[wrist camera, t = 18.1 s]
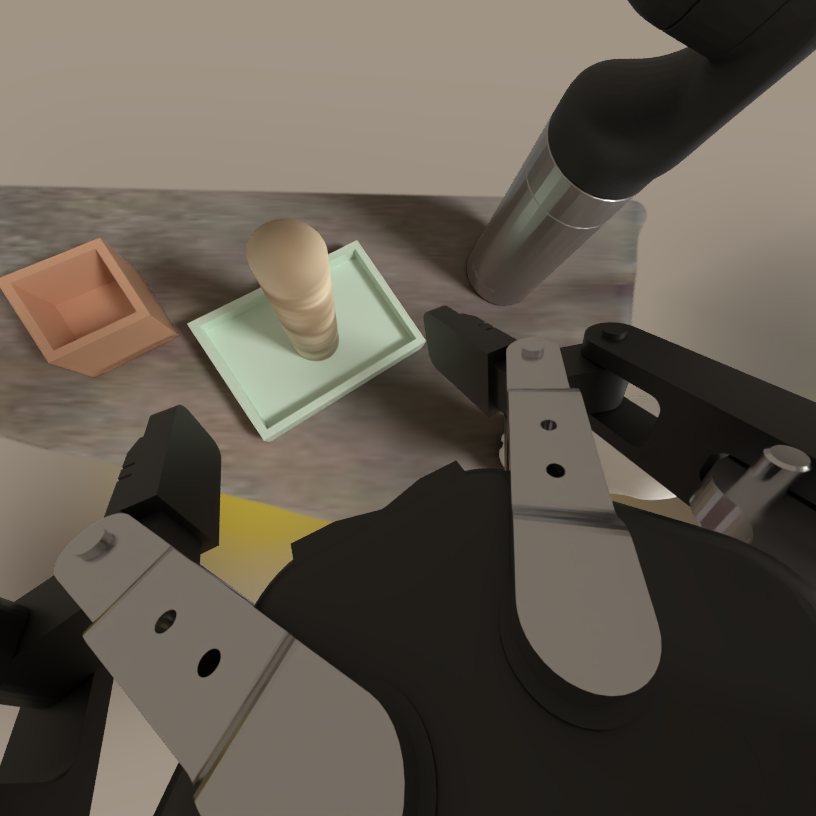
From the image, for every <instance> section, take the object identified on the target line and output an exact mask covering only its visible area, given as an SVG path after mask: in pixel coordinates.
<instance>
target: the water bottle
mask: <svg viewBox="0 0 816 816" xmlns="http://www.w3.org/2000/svg"><path fill="white" fill-rule="evenodd" d="M627 399H629V400H630V401H632V402H634V403H635V404H637V405H638V406H640V407H642V408H643V409H645V410H647V411H648V412H650V413H651V414H653V415H655V416H656V417H658V416H659V413H660V406H659V404H658V402H657V400H656V399H655V398H654V397H641V396H640V397H630V398H627ZM592 433H593V437H594V440H595V444H596V447H597V451H598V454H599V458H600V461H601V465H602V468H603V472H604V475H605V479H606V482H607V486H608V489H609V493H615V494H621V495H628V496H631V497H633V498H638V499H643V500H644V499H645V500H659V499H668V498H673V497H677V496H675V495H674V494H673V493H672V492H670V491H669V490H668V489H666V488H665V487H664V486H663V485H661V484H660V483H659V482H657V481H656V480H655V479H654V478H652V477H651V476H650V475H648V474H647V473H646V472H645V471H643V470H642V469H641V468H639V467H638V466H637V465H636V464H634V463H633V462H632V461H630V460H629V459H628V458H627V457H625V456H624V455H623V454H621V453H620V452H619V451H618V450H616V449H615V448H614V447H612V446H611V445H610V444H609V443H607V442H606V441H605V440H603V439H602V438H601V437H600V436H598V435H597V434H596V433H594V432H593V431H592ZM501 441H502V442H503V446H502V448H501V449H500V450H499V458H500V461H501V463H502V465H503V467H504V434H503V435H502V438H501Z"/></svg>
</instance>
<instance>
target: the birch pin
mask: <svg viewBox="0 0 816 816" xmlns="http://www.w3.org/2000/svg"><path fill="white" fill-rule="evenodd" d="M246 256H247V261H248V264H249V266H250V268H251V270H252V272H253V274H254V276H255V277H256V279H257V281H258V283H259V285H260V287H261V288H262V290H263V292H264V294H265V296H266V297H267V299H268V301H269V303H270V305H271V307H272V308H273V310H274V312H275V314H276V316H277V318H278V319H279V321H280V323H281V325H282V327H283V329H284V330H285V332H286V334H287V336H288V338H289V339H290V341H291V343H292V345H293V347H294V349H295V350H296V352H297V353H298V354H299V355H300V356H301V357H303V358H304V359H307V360H310V361H323V360H325V359H328V358H329V357H331V356H332V355H333V354H334V353H335V351H336V350H337V348H338V344H339V335H338V328H337V320H336V313H335V305H334V297H333V290H332V282H331V274H330V267H329V259H328V252H327V247H326V245H325V242H324V240H323V239H322V237H321V236H320V235H319V233H318V232H317V231H316V230H314V229H313V228H312V227H310V226H309V225H307V224H305V223H303V222H300V221H297V220H292V219H277V220H273V221H270V222H267V223H265V224H263V225H262V226H260V227H259V228H258V229H256V230H255V231H254V233H253V234H252V235H251V237H250V239H249V241H248V244H247V249H246Z"/></svg>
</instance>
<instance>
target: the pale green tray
mask: <svg viewBox="0 0 816 816" xmlns="http://www.w3.org/2000/svg"><path fill="white" fill-rule="evenodd" d="M328 259H329V267H330V274H331V282H332V290H333V297H334V305H335V313H336V320H337V328H338V335H339V344H338V348H337V350H336V351H335V353H334V354H333V355H332V356H331V357H329V358H328V359H325V360H323V361H310V360H307V359H304V358H303V357H301V356H300V355H299V354H298V353H297V352H296V350H295V349H294V347H293V345H292V343H291V341H290V339H289V338H288V336H287V334H286V332H285V330H284V329H283V327H282V325H281V323H280V321H279V319H278V318H277V316H276V314H275V312H274V310H273V308H272V307H271V305H270V303H269V301H268V299H267V297H266V296H265V294H264V292H263V290H262V288H259V289H257V290H255V291H253V292H251V293H249V294H247V295H245V296H242V297H240V298H238V299H236V300H234V301H232V302H230V303H228V304H226V305H224V306H222V307H220V308H218V309H216V310H214V311H212V312H210V313H208V314H206V315H204V316H202V317H200V318H198V319H196V320H194V321H192V322H189V323H187V325H188V326H189V328H190V329H191V331H192V332H193V334H194V335H195V337H196V338H197V340H198V341H199V343H200V344H201V346H202V347H203V349H204V350H205V352H206V354H207V355H208V357H209V358H210V360H211V361H212V363H213V364H214V366H215V367H216V369H217V370H218V372H219V373H220V375H221V376H222V378H223V379H224V381H225V382H226V384H227V385H228V387H229V388H230V390H231V392H232V393H233V395H234V396H235V398H236V399H237V401H238V402H239V404H240V405H241V407H242V408H243V410H244V411H245V413H246V414H247V416H248V417H249V419H250V420H251V422H252V423H253V425H254V426H255V428H256V429H257V431H258V433H259V434H260V436H261V437H262V439H263V440H264V441H268V442H271V441H272V440H274V439H276V438H277V437H279V436H281V435H282V434H284V433H285V432H287V431H289V430H290V429H292V428H293V427H295V426H297V425H298V424H300V423H302V422H303V421H305V420H306V419H308V418H310V417H311V416H313V415H314V414H316V413H318V412H319V411H321V410H323V409H324V408H326V407H327V406H329V405H331V404H332V403H334V402H335V401H337V400H339V399H340V398H342V397H344V396H345V395H347V394H348V393H350V392H352V391H353V390H355V389H356V388H358V387H360V386H361V385H363V384H365V383H366V382H368V381H369V380H371V379H373V378H374V377H376V376H377V375H379V374H381V373H382V372H384V371H386V370H387V369H389V368H390V367H392V366H394V365H395V364H397V363H398V362H400V361H402V360H403V359H405V358H407V357H408V356H410V355H411V354H413V353H415V352H416V351H418V350H419V349H421V348H422V346H423V345H424V343H425V342H426V340H425V339H424V337H423V336H422V334H421V333H420V332H419V330H418V329H417V327H416V326H415V324H414V323H413V321H412V320H411V318H410V317H409V315H408V314H407V312H406V311H405V310H404V308H403V307H402V305H401V304H400V302H399V301H398V299H397V298H396V296H395V295H394V293H393V292H392V291H391V289H390V288H389V286H388V285H387V283H386V282H385V280H384V279H383V277H382V276H381V274H380V273H379V271H378V270H377V269H376V267H375V266H374V264H373V263H372V261H371V260H370V258H369V257H368V255H367V254H366V252H365V251H364V249H363V248H362V247H361V245H360V244H359V242H358V241H355V242H353V243H351V244H348V245H346V246H344V247H342V248H340V249H338V250H336V251H334V252H332V253H330V254H328Z"/></svg>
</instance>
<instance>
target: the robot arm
mask: <svg viewBox="0 0 816 816" xmlns="http://www.w3.org/2000/svg"><path fill="white" fill-rule="evenodd" d="M628 1H629V3H630V4H631V6H632V7H633V8H634V9H635V11H636V12H637V13H638V14H639V15H640V16H642V17H643V18H644V19H645V20H647V21H648V22H649V23H651V24H652V25H654V26H655V27H657V28H658V29H660V30H662V31H663V32H665V33H666V34H668V35H670V36H671V37H673V38H675V39H676V40H678V41H680V42H681V43H683V44H685V45H686V46H688V47H687V48H685V49H682V50H680V51H677V52H674V53H671V54H668V55H664V56H659V57H654V58H645V59H612V60H606V61H602V62H598V63H596V64H594V65H592V66H590V67H588V68H587V69H585V70H584V71H583V72H581V73H580V74H579V75H578V76H577V77H576V79H575V80H574V81H573V82H572V83H571V84H570V86H569V88H568V89H567V90H566V92H565V94H564V95H563V97H562V99H561V100H560V102H559V104H558V105H557V107H556V109H555V111H554V112H553V114H552V116H551V117H550V119H549V121H548V123H547V124H546V126H545V128H544V129H543V131H542V133H541V134H540V136H539V138H538V140H537V141H536V143H535V145H534V146H533V148H532V150H531V152H530V153H529V155H528V157H527V159H526V160H525V162H524V164H523V165H522V167H521V169H520V171H519V172H518V174H517V176H516V177H515V179H514V181H513V183H512V184H511V186H510V188H509V189H508V191H507V193H506V194H505V196H504V198H503V199H502V201H501V203H500V204H499V206H498V208H497V210H496V211H495V213H494V215H493V216H492V218H491V220H490V221H489V223H488V225H487V226H486V228H485V230H484V231H483V233H482V235H481V237H480V238H479V240H478V242H477V243H476V245H475V247H474V248H473V250H472V252H471V254H470V255H469V258H468V261H467V275H468V278H469V281H470V283H471V285H472V287H473V289H474V290H475V291H476V292H477V293H478V294H479V295H480V296H481V297H482V298H483V299H485V300H487V301H489V302H490V303H493V304H497V305H504V306H505V305H512V304H515V303H518V302H519V301H521V300H522V299H523V298H525V297H526V296H527V295H528V294H529V293H530V292H531V291H532V290H533V289H534V288H535V287H537V286H538V285H539V284H540V283H541V282H542V281H543V280H544V279H545V278H546V277H548V276H549V275H550V274H551V273H552V272H553V271H554V270H555V269H556V268H557V267H558V266H560V265H561V264H562V263H563V262H564V261H565V260H566V259H567V258H568V257H569V256H570V255H572V254H573V253H574V252H575V251H576V250H577V249H578V248H579V247H580V246H581V245H582V244H583V243H585V242H586V241H587V240H588V239H589V238H590V237H591V236H592V235H593V234H594V233H595V232H597V231H598V230H599V229H600V228H601V227H602V226H603V225H604V224H605V223H606V222H607V221H609V220H610V219H611V218H612V217H613V216H614V215H615V214H616V213H617V212H618V211H619V210H620V209H621V208H622V207H623V206H625V205H626V204H627V203H628V202H629V201H630V200H631V199H632V198H633V197H634V196H635V195H636V194H637V193H639V192H640V191H641V190H642V189H643V188H644V187H645V186H646V185H647V184H649V183H650V182H651V181H652V180H653V179H655V178H657V177H659V176H660V175H662V174H664V173H666V172H667V171H669V170H671V169H672V168H673V167H675V166H676V165H678V164H679V163H680V162H681V161H682V160H684V159H685V158H686V157H687V156H688V155H690V154H691V153H692V152H693V151H694V150H696V149H697V148H698V147H699V146H700V145H701V144H702V143H704V142H705V141H706V140H707V139H708V138H709V137H711V136H712V135H713V134H714V133H716V132H717V131H718V130H719V129H720V128H721V127H723V126H724V125H725V124H726V123H727V122H729V121H730V120H731V119H732V118H733V117H735V116H736V115H737V114H738V113H739V112H741V111H742V110H743V109H744V108H745V107H746V106H748V105H749V104H750V103H752V102H753V101H754V100H755V99H756V98H758V97H759V96H760V95H761V94H762V93H763V92H765V91H766V90H767V89H769V88H770V87H771V86H772V85H773V84H775V83H776V82H777V81H778V80H780V79H781V78H782V77H783V76H784V75H786V74H787V73H788V72H789V71H791V70H792V69H793V68H794V67H795V66H796V65H798V64H799V63H800V62H801V61H803V60H804V59H805V58H806V57H808V56H809V55H810V54H811V53H812V52H813V51H815V50H816V0H628ZM424 325H425V332H426V338H427V345H428V351H429V356H430V359H431V361H432V363H433V365H434V366H435V367H436V368H437V369H438V370H439V371H440V372H441V373H442V374H443V375H444V376H445V377H446V378H447V379H448V380H449V381H450V382H452V383H453V384H454V385H455V386H456V387H457V388H458V389H459V390H460V391H461V392H462V393H463V394H464V395H465V396H467V397H468V398H469V399H470V400H471V401H472V402H473V403H474V404H475V405H476V406H477V407H478V408H479V409H480V410H482V411H483V412H484V413H485V414H486V415H487V416H488V417H489V416H491V415H493V414H496V413H498V412H500V411H502V412H503V413H504V470H502V469H491V468H486V469H473V470H467V471H464V470H463V468H462V467H461V466H460V465H459V463H458V462H457V461H454V462H452V463H450V464H448V465H446V466H444V467H442V468H440V469H438V470H436V471H434V472H432V473H430V474H428V475H426V476H424V477H422V478H420V479H419V480H418V481H416V482H415V483H414V484H413V485H412V486H410V487H409V488H408V489H407V490H405V491H404V492H403V493H402V494H401V495H399V496H398V497H397V498H396V499H395V500H393V501H392V502H391V503H390V504H389V505H387V506H386V507H385V508H383V509H381V510H378V511H374V512H370V513H366V514H362V515H358V516H354V517H350V518H346V519H343V520H339V521H335V522H333V523H331V524H329V525H327V526H325V527H323V528H321V529H319V530H317V531H315V532H313V533H311V534H309V535H307V536H305V537H303V538H301V539H299V540H297V541H295V542H293V543H291V548H292V554H293V560H292V561H291V562H289V563H288V564H287V565H286V566H285V567H284V568H283V569H282V570H281V571H280V572H279V573H278V574H277V575H276V576H275V578H274V579H273V580H272V581H271V582H270V583H269V585H268V586H267V587H266V589H265V590H264V592H263V593H262V594H261V596H260V597H259V599H258V601H257V602H256V604H254V603H253V602H251V601H250V600H249V599H247V598H246V597H244V596H243V595H242V594H240V593H239V592H238V591H236V590H235V589H233V588H232V587H231V586H229V585H228V584H227V583H225V582H224V581H222V580H221V579H220V578H218V577H217V576H216V575H214V574H213V573H211V572H210V571H209V570H207V569H206V568H204V567H203V566H201V565H200V554H202V553H204V552H206V551H208V550H210V549H212V548H214V547H216V546H219V519H220V518H219V516H220V482H221V454H220V451H219V448H218V446H217V444H216V443H215V441H214V440H213V439H212V438H211V436H210V435H209V434H208V433H207V432H206V430H205V429H204V428H203V427H202V426H201V425H200V423H199V422H198V421H197V420H196V419H195V418H194V416H193V415H192V414H191V413H190V412H189V411H188V410H187V409H186V408H185V407H184V406H182V405H177V406H175V407H172V408H169V409H167V410H164V411H161V412H159V413H156V414H153V415H151V416H150V418H149V421H148V425H147V428H146V431H145V434H144V437H141V438H139V440H138V441H137V442H136V443H135V445H134V446H133V447H132V448H131V449H130V451H129V452H128V453H127V456H126V458H125V461H124V464H123V469H122V470H121V473H120V475H119V478H118V479H119V481H118V482H117V483H116V486H115V489H114V491H113V494H112V497H111V500H110V502H109V505H108V508H107V511H106V513H105V516H104V518H102V519H100V520H98V521H97V522H95V523H93V524H92V525H90V526H89V527H87V528H86V529H85V530H83V531H82V532H81V533H79V534H78V535H77V536H76V537H75V538H74V539H73V540H72V541H71V542H70V543H69V544H68V545H67V547H66V548H65V549H64V550H63V551H62V553H61V554H60V556H59V558H58V560H57V561H56V564H55V567H54V576H52V577H51V578H50V579H48V580H46V581H45V582H43V583H42V584H40V585H39V586H37V587H36V588H34V589H33V590H31V591H30V592H29V593H27V594H25V595H24V596H23V597H21V598H19V599H18V600H16V601H15V602H12V601H10V600H7V599H4V598H1V597H0V704H3V705H9V706H17V707H20V710H19V713H18V716H17V719H16V721H15V724H14V727H13V730H12V733H11V736H10V739H9V742H8V745H7V748H6V751H5V753H4V757H3V759H2V762H1V765H0V816H89V814H90V809H91V803H92V797H93V792H94V786H95V780H96V775H97V769H98V764H99V757H100V752H101V747H102V741H103V735H104V730H105V724H106V718H107V712H108V707H109V701H110V696H111V690H112V684H113V679H115V680H116V682H117V683H118V684H119V685H120V687H121V688H122V689H123V690H124V692H125V693H126V694H127V696H128V697H129V698H130V700H131V701H132V702H133V703H134V705H135V706H136V707H137V708H138V710H139V711H140V712H141V714H142V715H143V716H144V718H145V719H146V720H147V721H148V723H149V724H150V725H151V727H152V728H153V729H154V731H155V732H156V733H157V734H158V736H159V737H160V738H161V740H162V741H163V742H164V743H165V745H166V746H167V747H168V749H169V750H170V751H171V752H172V754H173V755H174V756H175V758H176V759H177V760H178V761H179V763H178V765H177V767H176V769H175V771H174V773H173V775H172V778H171V780H170V782H169V784H168V786H167V788H166V790H165V792H164V795H163V796H162V798H161V801H160V803H159V805H158V807H157V809H156V811H155V813H154V815H153V816H816V402H813V401H811V400H808V399H806V398H804V397H801V396H799V395H796V394H793V393H792V392H789V391H787V390H784V389H782V388H780V387H777V386H775V385H772V384H770V383H767V382H765V381H763V380H760V379H758V378H755V377H753V376H751V375H748V374H746V373H744V372H741V371H739V370H737V369H734V368H732V367H729V366H727V365H724V364H722V363H720V362H717V361H715V360H712V359H710V358H708V357H705V356H703V355H701V354H698V353H696V352H693V351H691V350H689V349H686V348H684V347H681V346H679V345H677V344H674V343H672V342H669V341H667V340H665V339H662V338H660V337H657V336H655V335H652V334H650V333H648V332H645V331H643V330H641V329H638V328H636V327H633V326H631V325H627V324H623V323H612V322H609V323H600V324H596V325H593V326H591V327H589V328H588V329H587V330H586V331H585V334H584V339H583V343H582V344H578V345H573V346H568V347H562V348H559V347H558V345H557V344H555V343H554V342H552V341H550V340H547V339H542V338H524V339H520V340H516V339H514V338H512V337H511V336H509V335H507V334H506V333H504V332H502V331H500V330H499V329H497V328H493V326H492V325H490V324H488V323H485V321H483V320H481V319H479V318H478V317H476V316H472V315H467V314H459V313H457V312H456V311H454V310H452V309H451V308H449V307H447V306H445V305H444V306H441V307H439V308H436V309H433V310H431V311H428V312H425V314H424ZM628 383H631V384H633V385H635V386H636V387H638V388H640V389H642V390H643V391H645V392H647V393H649V394H650V395H652V396H653V397H654V398H655V399H656V400H657V402H658V404H659V406H660V413H659V416H658V417H656V416H655V415H653V414H651V413H650V412H648V411H647V410H645V409H643V408H642V407H640V406H638V405H637V404H635V403H634V402H632V401H630V400H629V399H627V398H625V397H624V394H625V391H626V388H627V385H628ZM592 431H593V432H594V433H596V434H597V435H598V436H600V437H601V438H602V439H603V440H605V441H606V442H607V443H609V444H610V445H611V446H612V447H614V448H615V449H616V450H618V451H619V452H620V453H621V454H623V455H624V456H625V457H627V458H628V459H629V460H630V461H632V462H633V463H634V464H636V465H637V466H638V467H639V468H641V469H642V470H643V471H645V472H646V473H647V474H648V475H650V476H651V477H652V478H654V479H655V480H656V481H657V482H659V483H660V484H661V485H663V486H664V487H665V488H666V489H668V490H669V491H670V492H672V493H673V494H674V495H675V496H677V497H678V498H680V499H681V500H682V501H683V502H684V503H686V504H687V505H688V506H690V507H691V511H692V513H693V515H694V516H695V518H696V519H697V520H698V522H699V523H700V525H699V526H696V525H692V524H689V523H685V522H682V521H679V520H675V519H672V518H668V517H665V516H662V515H658V514H655V513H652V512H648V511H645V510H641V509H638V508H634V507H631V506H628V505H625V504H621V503H618V502H614V501H612V500H611V496H610V493H609V489H608V486H607V482H606V479H605V475H604V472H603V468H602V465H601V461H600V458H599V454H598V451H597V447H596V444H595V440H594V437H593V433H592Z"/></svg>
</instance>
